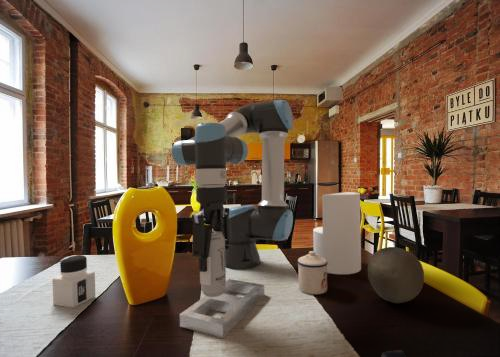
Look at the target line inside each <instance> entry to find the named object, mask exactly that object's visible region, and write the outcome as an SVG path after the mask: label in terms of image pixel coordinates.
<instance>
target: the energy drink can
mask: <svg viewBox="0 0 500 357" xmlns="http://www.w3.org/2000/svg"><path fill="white" fill-rule="evenodd" d="M204 253H205V252H204ZM208 257H211V285H204V284H201V287H200V288H201V293H203V295H204V297H205V296H208V297H216V296H220V295H222V294H223V293H224V290H225V289H226V281H227V280H226V274H227V273H225V238H224V236H223V235H222V232H221V231H213V230H212V235H211V242H210V249H209V256H208Z"/></svg>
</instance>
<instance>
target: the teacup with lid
mask: <svg viewBox="0 0 500 357" xmlns="http://www.w3.org/2000/svg"><path fill="white" fill-rule="evenodd" d="M327 264H328V262H327V260H326V259H325V258H323V257H320V256H318V255H316V253H315V252H314V250H311V251H310V250H309V252H308V254H305V255H302V256H300V257H299V258H298V259H297V267H298V268H297V269H298V289H299V290H300V291H301V292H303V293H304V294H308V295H321V294H325V293H327V291H328V273H327Z"/></svg>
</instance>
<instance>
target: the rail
mask: <svg viewBox="0 0 500 357" xmlns="http://www.w3.org/2000/svg"><path fill="white" fill-rule="evenodd" d="M231 293H236V294H241V295H243V297H242V296H239V295H233V294H231ZM264 296H265V284H263V283H254V282H249V281H242V280H236V279H230V278H229V279H227V280H226V289H225V290H224V293H223V294H222V295H220V296H216V297H208V296H205V295H204V296H203V297H202V298H200V299H199V300H198V301H196V302H195V303H193V304H192V305H191V306H189V307H188V308H187V309H184V310H183V311H182V312H181V313H179V327H180V328H183V329H188V330H190V331H195V332H199V333H203V334H206V335H210V336H214V337H216V338H221V339H223V338H225V337H226V336H227V334H228V333H230V332H231V330H233V328H234V327H236V326H237V324H238V323H239V322H240V321H241V320H242V319H243V318H244V317H245V316H246V315H247V314H248V313H249V311H251V309H252V308H254V306H256V304H257V303H258V302H259V301H260V300H261V299H262V298H263V297H264ZM211 310H212V311H216V312H220V313H224V314H223V315H222V316H220V318H219V317H215V316H210V315H206V314H207V313H208V312H209V311H211Z"/></svg>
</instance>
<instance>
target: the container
mask: <svg viewBox="0 0 500 357" xmlns="http://www.w3.org/2000/svg"><path fill="white" fill-rule="evenodd" d="M59 264H60V275H58V276H55V277H53V278H52V303H53V305H54V306H58V307H59V306H60V307H65V308H69V309H73V308H76V307H78V306H80V305H82V304H84V303H86V302H88V301H90V300H92V299H94V298H95V297H96V273H95V271H90V270H88V267H87V266H88V259H87V256H85V255H83V254H82V255H81V254H76V255H70V256H65V257H64V258H62V259H61V260H60V262H59Z"/></svg>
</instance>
